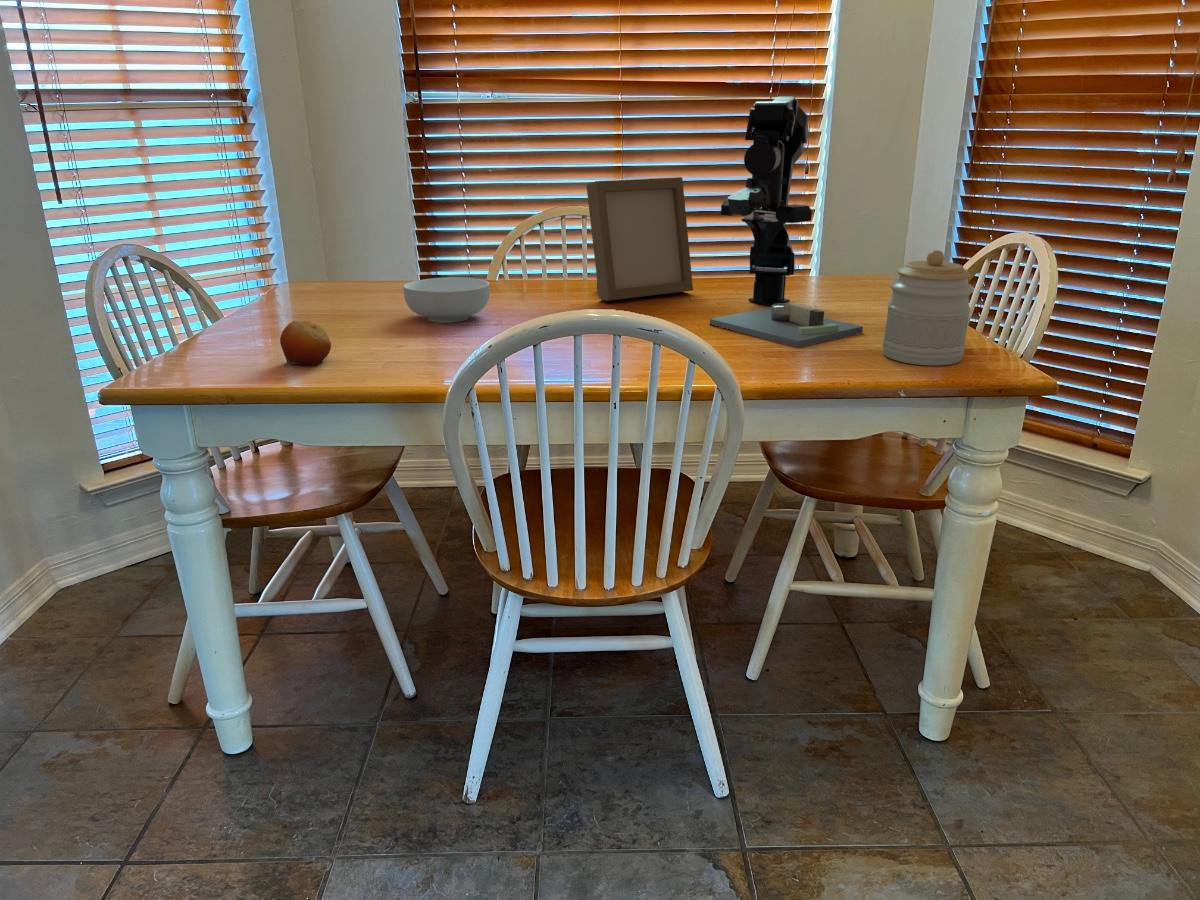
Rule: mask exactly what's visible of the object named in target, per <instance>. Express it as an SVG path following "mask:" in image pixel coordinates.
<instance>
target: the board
mask: <svg viewBox="0 0 1200 900" xmlns="http://www.w3.org/2000/svg"><path fill="white" fill-rule="evenodd" d="M771 310H772V306H769V307H764V308H760V309H755V310H748V311H743V312H738V313H734V314H728V315H722V316H718V317H714V318H713V317H712V318H710V319H709V325H710V324H712V325H715V326H714V327H716V326H719V327H718V328H720V327H723V328H726V329H725V330H727V329H730V330H729V331H731V330H734V331H733V332H735V331H737V332H736V333H739V332H741V333H740V334H743V333H744V334H743V335H746V334H748V335H747V336H750V335H751V337H754V336H755V337H754V338H759V339H762V340H766V341H770V342H773V341H774V342H775V343H777V342H778V344H781V345H786V346H790V347H794V348H796V349H800V348H803V347H807V346H812V345H816V344H819V343H824V342H828V341H833V340H837V339H841V338H846V337H850V336H853V335H859V334H862V333H863V330H864V325H859V324H853V323H851V322H846V321H842V320H836V319H831V318H827V317H824V320H823V325H819V326H808V327H807V326H803V325H800V324H797V323H794V322H790V321H778V320H774V319H772V318H771ZM712 325H711V326H712ZM723 328H722V329H723Z"/></svg>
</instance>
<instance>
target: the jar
mask: <svg viewBox="0 0 1200 900" xmlns="http://www.w3.org/2000/svg"><path fill="white" fill-rule="evenodd" d="M896 272H897V274H898V277H897V279H895V280H893V281H891V282H890V284H889V287H890V289H891V290H892V292H891V293H892V294H891V299H890V301H888V303H887V315H886V324H885V331H884V337H883V339H882V341H883V343H882V348H883V354H884V356H885V357H886V358H889V359H890V360H893V361H897V362H901V363H905V364H909V365H915V366H916V365H918V366H932V367H934V366H937V367H939V366H948V365H954V364H957V363H959V362H961V361H962V360H963V359H962V358H963V355H964V353H965V349H966V337H967V329H968V324H969V316H970V313H971V312H972V310H971V309H972V308H971V307H970V295H972V294H973V293H974V291H975V288H974V287H973V285H972V284H970V283H969V282H968V279H969V278H971V275H972V273H970V272H969V270H966V269H965V268H964V266H963V265H961V264H959V263H956V262H949V261H945V255H944V253H943V252H942V251H941V250H939V249H934V250H931V251H930V252H929V253H928V254H927V255H926V260H913V261H908V262H907V263H906V264H905V265H903V266H901V267H899V268H897V270H896Z"/></svg>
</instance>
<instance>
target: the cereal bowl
mask: <svg viewBox="0 0 1200 900" xmlns="http://www.w3.org/2000/svg"><path fill="white" fill-rule="evenodd" d="M490 287H491V286H490V282H489V281H487V280H485V279H482V278H481V279H479V278H474V277H456V276H454V277H451V276H450V277H448V276H447V277H435V278H434V277H433V278H426V279H425V278H424V279H420V280H414V281H410V282H407V283H405V284H404V285H403V287H402V289H403V291H402V292H403V296H404V300H405V303H406V305H407V306H408V307H409V309H410V310H411V311H412V312H413V313H415V314H417V315H420V316H422V317H425V318H427V319H428V321H430V322H433V323H441V324H442V323H443V324H444V323H445V324H446V323H447V324H448V323H449V324H450V323H459V322H464V321H466V320H468V319H469V318H470V316H473V315H476V314H477V313H479V312H480V311H482V310H483V309H484V308H485V307H486V305H488V303H489V299H490V295H491V293H490V292H491V291H490V290H491V289H490Z"/></svg>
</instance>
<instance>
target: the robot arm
mask: <svg viewBox="0 0 1200 900" xmlns="http://www.w3.org/2000/svg"><path fill="white" fill-rule="evenodd" d="M799 105H800V104H799V97H795V96H777V97H775V98H772V101H755V103H753V107H751V108H750V109H749V115H748V120H747V127H746V130H745V131H746V133H745V139H744V140H745V141H753V143H752V145H750V146H749V147H748V149H747V150H746V151H745V154H744V156H743V157H744V158H743V163H744V167H745V169H746V170H747V172H748V173H750V174H751V177H747V180H746V181H745V187H744V188H742V189H739V190H738V191H736V192H734V193H732V194H731V195H729V196H727V199H724V200H723V202H722V203H721V205H720V215H722V216H729V217H731V216H733V215H741V216H742V217H743V218H741V222H742V223H743V222H744V223H745V224H746V225H747V227H749V228H750V231H751V234H752V236H753V238H754V240H753V244H751V246H750V249H749V250H750V251H749V274H750V275H753V274H754V275H755V277H754V279H755V280H754V282H753V292H752V293H753V295H752V297H751V298H748V302H752V303H757V304H761V305H766V306H772V305H773V304H776V303H789V302H791V301H790V299H788V298H785V295H786V294H785V292H786V283H787V282H786V280H787V277H789V276H793V275H795V267H796V266H795V262H796V261H795V259H796V258H795V252H794V251H793V246H791V241H790V236H789V233H788V231H787V229H786V224H796V223H804V222H811V221H812V217H813V216H812V215H813V211H812V209H811V207H810V205H807V204H797V203H794V204H789V199H790V192H791V186H792V185H791V184H792V177H793V169H794V165H795V163H797V161H798V160H799V159H800V157H802V155H803V153H804V146H805V144H807V143H808V139H809V119H808V118H809V117H808V114H806V112H805V111H804V110H803V109H802V108H801V107H800V106H799Z"/></svg>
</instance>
